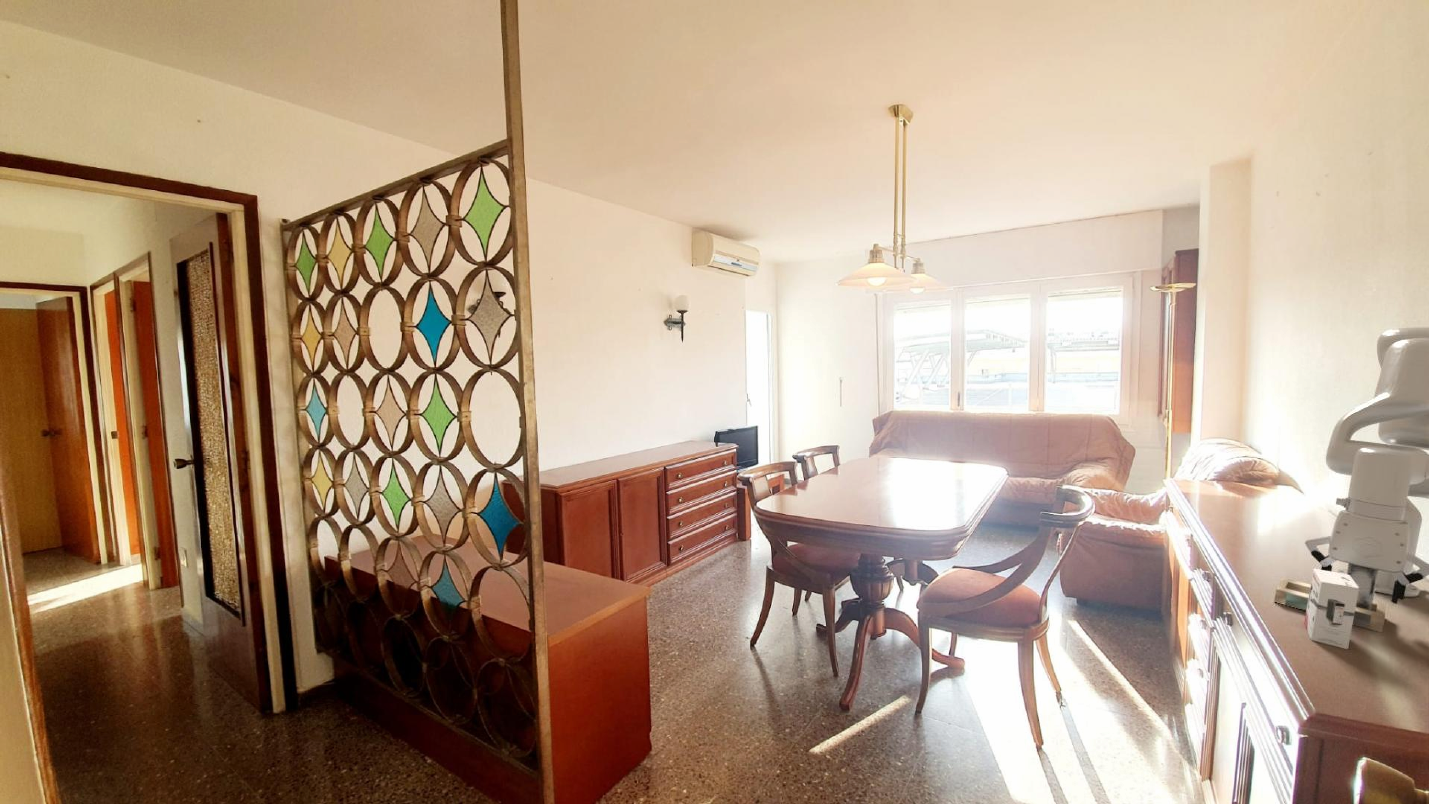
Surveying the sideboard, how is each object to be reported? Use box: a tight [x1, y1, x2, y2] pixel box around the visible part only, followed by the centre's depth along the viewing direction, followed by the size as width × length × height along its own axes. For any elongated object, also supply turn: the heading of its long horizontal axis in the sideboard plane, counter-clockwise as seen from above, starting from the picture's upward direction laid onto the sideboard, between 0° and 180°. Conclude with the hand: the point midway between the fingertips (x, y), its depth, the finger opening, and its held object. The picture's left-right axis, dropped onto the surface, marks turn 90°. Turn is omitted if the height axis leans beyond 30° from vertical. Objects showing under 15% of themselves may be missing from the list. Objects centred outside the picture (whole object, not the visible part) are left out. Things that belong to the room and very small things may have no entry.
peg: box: [1346, 563, 1378, 611], centre depth 114 cm, size 4×4×11 cm
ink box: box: [1303, 567, 1359, 650], centre depth 106 cm, size 9×5×12 cm, turn 141°
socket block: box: [1273, 577, 1387, 633], centre depth 117 cm, size 15×10×3 cm
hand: (1359, 592), depth 114 cm, fingers open, 8 cm apart
